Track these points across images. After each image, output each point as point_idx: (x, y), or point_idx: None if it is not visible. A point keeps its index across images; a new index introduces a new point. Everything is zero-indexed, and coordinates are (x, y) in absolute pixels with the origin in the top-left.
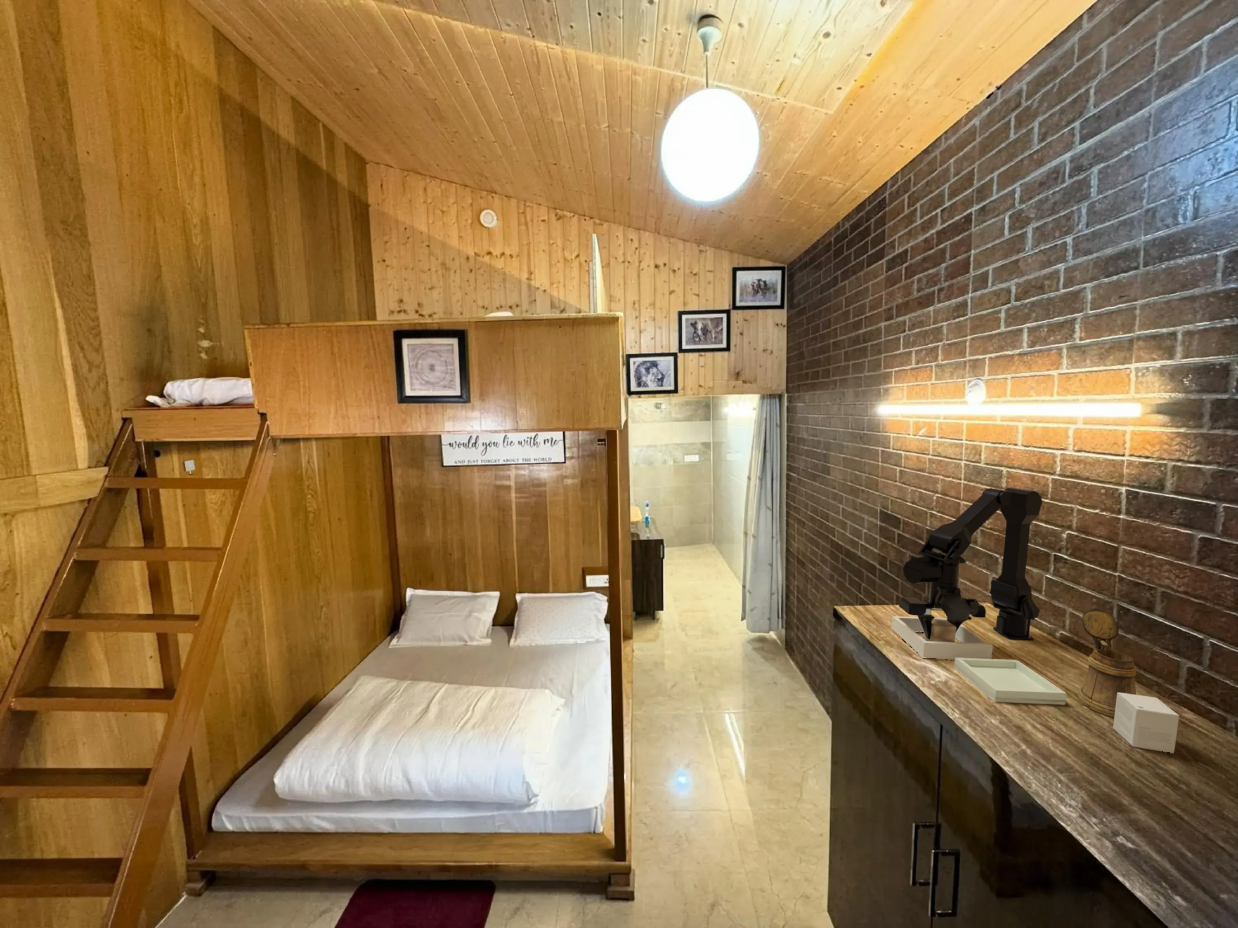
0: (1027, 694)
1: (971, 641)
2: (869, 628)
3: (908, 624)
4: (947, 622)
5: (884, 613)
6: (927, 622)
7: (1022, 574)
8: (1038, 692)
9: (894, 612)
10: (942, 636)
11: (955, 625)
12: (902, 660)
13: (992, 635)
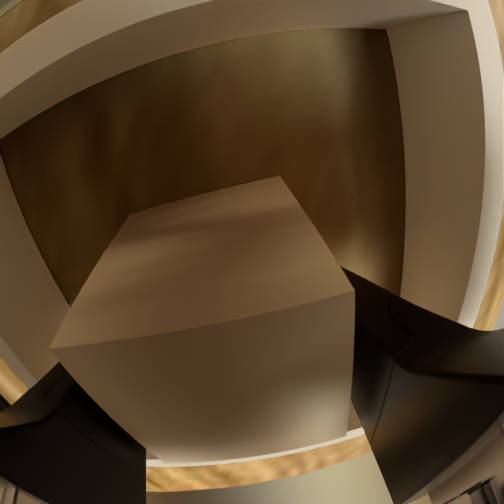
0: None
1: (20, 289)
2: (474, 325)
3: None
4: (144, 425)
5: (341, 446)
6: (443, 331)
7: None
8: None
9: (302, 459)
10: (220, 234)
11: (66, 383)
12: (489, 3)
13: (15, 393)
